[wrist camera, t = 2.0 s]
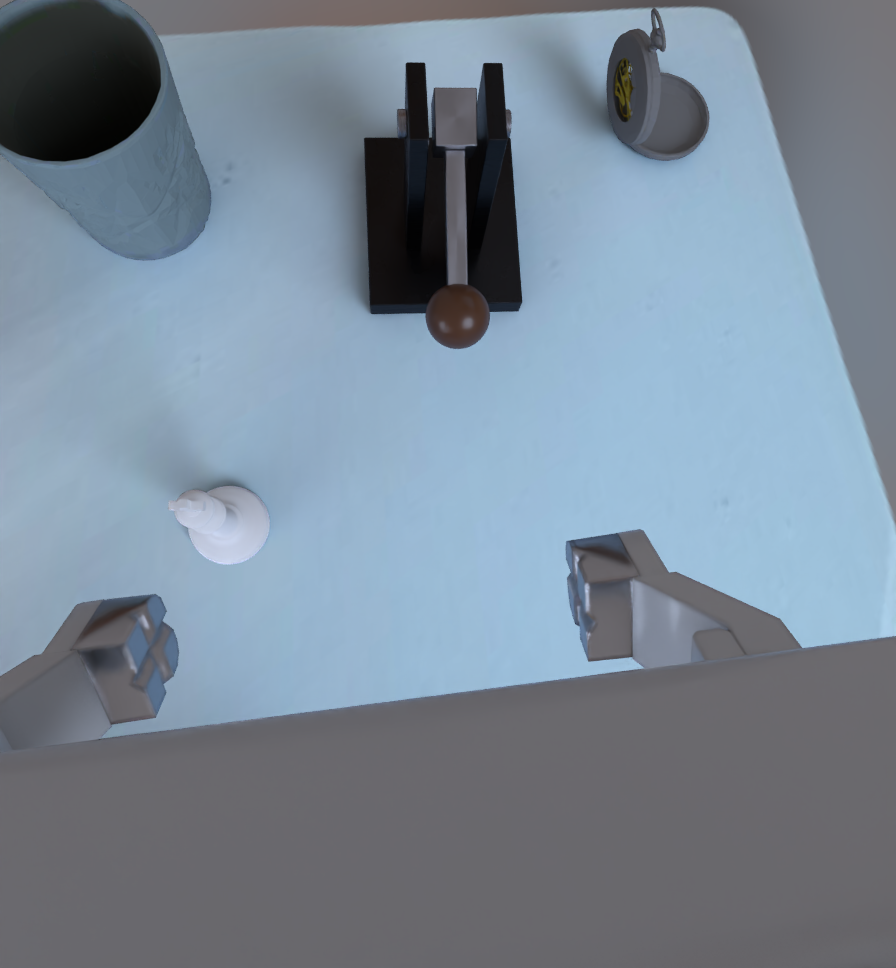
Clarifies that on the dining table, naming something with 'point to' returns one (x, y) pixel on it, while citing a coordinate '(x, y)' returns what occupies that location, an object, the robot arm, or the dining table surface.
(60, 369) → the dining table surface
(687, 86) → the pocket watch
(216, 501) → the chess piece
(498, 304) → the black lever stand
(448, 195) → the tap lever
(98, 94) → the grey embossed pot
